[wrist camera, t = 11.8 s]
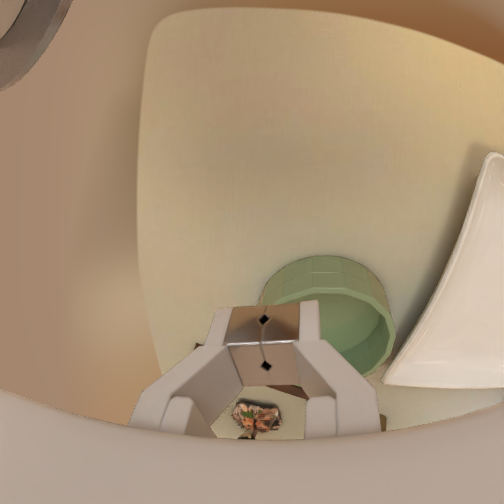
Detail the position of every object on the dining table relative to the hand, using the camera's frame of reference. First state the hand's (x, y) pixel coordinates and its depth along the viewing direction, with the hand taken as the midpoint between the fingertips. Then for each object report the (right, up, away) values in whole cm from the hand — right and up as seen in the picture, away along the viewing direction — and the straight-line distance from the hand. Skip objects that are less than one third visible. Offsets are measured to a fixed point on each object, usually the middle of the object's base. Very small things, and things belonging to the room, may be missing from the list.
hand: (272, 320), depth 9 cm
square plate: (+29, -2, +17) cm, 34 cm away
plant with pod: (0, -23, +34) cm, 42 cm away
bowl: (+7, -4, +22) cm, 23 cm away
